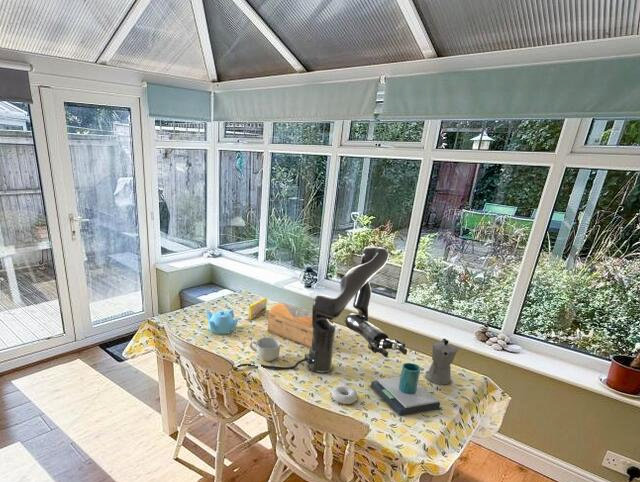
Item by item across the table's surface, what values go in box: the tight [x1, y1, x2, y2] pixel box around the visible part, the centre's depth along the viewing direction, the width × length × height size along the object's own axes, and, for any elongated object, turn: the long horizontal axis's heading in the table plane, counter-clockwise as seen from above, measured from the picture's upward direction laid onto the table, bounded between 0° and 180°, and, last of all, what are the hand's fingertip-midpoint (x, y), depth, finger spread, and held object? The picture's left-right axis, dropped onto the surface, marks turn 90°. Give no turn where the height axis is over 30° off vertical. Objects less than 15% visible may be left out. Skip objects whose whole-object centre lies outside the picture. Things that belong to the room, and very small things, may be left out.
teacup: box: [249, 336, 281, 362], centre depth 186 cm, size 14×11×8 cm
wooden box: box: [267, 302, 334, 348], centre depth 208 cm, size 30×16×14 cm, turn 47°
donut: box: [330, 385, 359, 405], centre depth 158 cm, size 10×4×10 cm
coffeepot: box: [426, 338, 459, 385], centre depth 170 cm, size 15×9×18 cm, turn 159°
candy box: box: [248, 297, 268, 321], centre depth 233 cm, size 16×2×8 cm, turn 147°
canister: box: [399, 362, 422, 394], centre depth 157 cm, size 6×6×10 cm
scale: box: [370, 375, 441, 416], centre depth 159 cm, size 17×20×3 cm
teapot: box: [205, 308, 239, 336], centre depth 213 cm, size 15×15×11 cm
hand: (396, 353), depth 163 cm, fingers open, 8 cm apart
